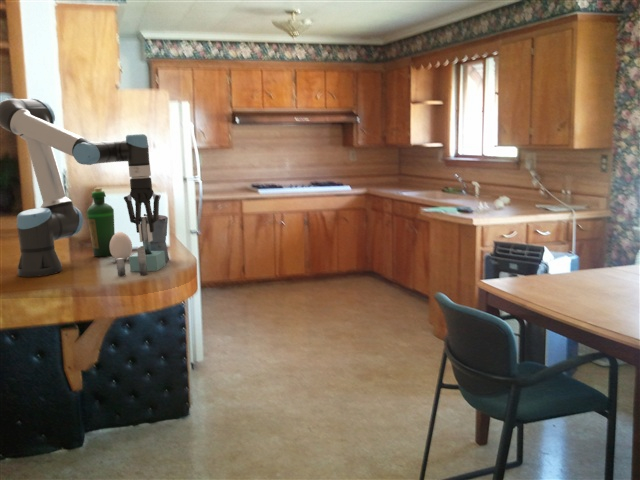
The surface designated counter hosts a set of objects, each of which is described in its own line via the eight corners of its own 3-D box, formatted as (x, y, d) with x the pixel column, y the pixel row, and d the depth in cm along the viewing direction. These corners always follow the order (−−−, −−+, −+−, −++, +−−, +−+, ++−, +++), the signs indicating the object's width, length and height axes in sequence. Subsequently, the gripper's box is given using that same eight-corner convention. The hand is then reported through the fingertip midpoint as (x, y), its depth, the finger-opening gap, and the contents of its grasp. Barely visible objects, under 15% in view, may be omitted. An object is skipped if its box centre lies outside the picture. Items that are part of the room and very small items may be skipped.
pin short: (116, 276, 228) (115, 259, 227) (119, 274, 231) (118, 258, 230) (124, 276, 228) (122, 259, 227) (126, 274, 231) (125, 257, 230)
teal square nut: (130, 271, 235) (129, 256, 234) (139, 265, 245) (138, 251, 244) (157, 270, 235) (156, 255, 234) (165, 264, 244) (164, 250, 243)
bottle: (98, 252, 275) (92, 187, 270) (122, 252, 274) (116, 186, 269) (86, 258, 265) (79, 189, 260) (110, 257, 263) (104, 189, 259)
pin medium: (138, 275, 228) (135, 247, 226) (141, 273, 230) (138, 246, 228) (146, 275, 227) (142, 247, 226) (148, 273, 230) (145, 246, 228)
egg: (106, 261, 256) (103, 232, 254) (124, 257, 263) (122, 229, 261) (119, 263, 251) (116, 234, 249) (138, 259, 257) (135, 231, 255)
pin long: (145, 253, 240) (141, 216, 238) (152, 253, 240) (148, 216, 238) (142, 254, 238) (139, 217, 235) (149, 254, 237) (146, 216, 235)
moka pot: (159, 265, 244) (155, 212, 241) (134, 261, 254) (129, 210, 250) (179, 260, 252) (175, 209, 248) (153, 257, 261) (149, 207, 258)
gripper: (115, 179, 231) (122, 243, 235) (158, 177, 230) (163, 242, 234) (123, 177, 238) (129, 240, 242) (164, 175, 237) (169, 238, 241)
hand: (146, 241), depth 238 cm, fingers closed on pin long, 2 cm apart
